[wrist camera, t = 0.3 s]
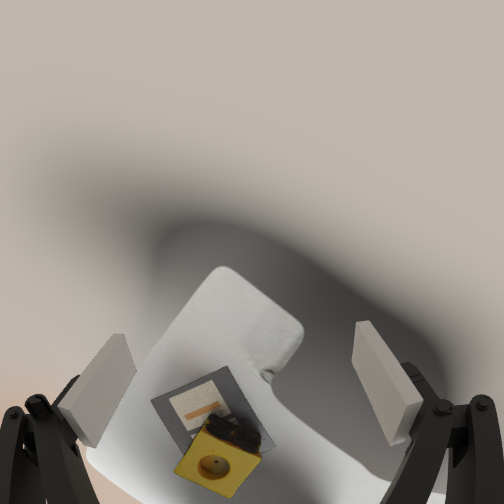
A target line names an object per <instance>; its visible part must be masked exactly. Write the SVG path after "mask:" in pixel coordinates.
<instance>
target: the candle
mask: <svg viewBox="0 0 504 504" xmlns="http://www.w3.org/2000/svg"><path fill="white" fill-rule="evenodd" d="M260 445H261V436H260V435H256V434H255V433H254V432H251V431H249V430H248V429H245V428H243V427H241V426H239V425H236V424H234V423H232V422H230V421H227V420H225V419H223V418H220V417H218V416H217V415H216V414H213V413H211V414H209V416H208V417H207V419H206V421H205V422H204V423H203V425H202V427H201V428H200V430H199V431H198V433H197V435H196V436H195V437H194V439H193V441H192V443H191V444H190V446H189V447H188V449H187V450H186V452H185V454H184V456H183V458H182V459H181V461H180V462H179V464H178V465H177V467H176V468H175V470H174V473H176V474H177V475H179V476H181V477H183V478H186V479H188V480H190V481H192V482H194V483H196V484H199V485H201V486H203V487H205V488H207V489H209V490H211V491H214V492H216V493H218V494H220V495H222V496H224V497H227V498H231V497H233V495H234V494H235V492H236V490H237V488H238V487H239V486H240V485H241V484H242V483H243V481H244V480H245V479H247V476H248V475H249V474H250V473H251V472H252V471H253V469H254V468H255V467H256V466H257V464H258V463H259V462H260V461H261V455H260V451H259V449H260V447H261V446H260Z"/></svg>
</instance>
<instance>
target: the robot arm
mask: <svg viewBox="0 0 504 504" xmlns="http://www.w3.org/2000/svg"><path fill="white" fill-rule="evenodd" d="M352 364H353V366H354V368H355V370H356V372H357V374H358V376H359V378H360V381H361V383H362V385H363V387H364V389H365V391H366V394H367V396H368V398H369V400H370V402H371V405H372V406H373V409H374V411H375V414H376V416H377V418H378V420H379V422H380V425H381V427H382V429H383V432H384V434H385V436H386V439H387V441H388V444H389V446H392V445H396V444H398V443H402V442H405V440H406V438H407V436H408V434H409V435H410V437H411V439H412V441H411V443H410V445H409V447H408V448H407V450H406V454H405V457H404V459H403V461H402V463H401V465H400V467H399V469H398V471H397V473H396V475H395V477H394V479H393V481H392V483H391V485H390V487H389V488H388V490H387V492H386V494H385V496H384V497H383V499H382V501H381V502H380V504H426V503H427V501H428V498H429V496H430V494H431V491H432V489H433V486H434V484H435V481H436V478H437V476H438V473H439V470H440V467H441V464H442V461H443V458H444V455H445V451H446V448H449V463H448V480H447V481H448V482H447V491H446V500H445V504H504V459H503V449H502V441H501V434H500V428H499V423H498V418H497V412H496V408H495V404H494V401H493V400H492V399H491V398H490V397H489V396H486V395H482V394H480V395H476V396H475V397H473V398H472V400H471V401H470V404H467V405H457V406H454V405H453V404H452V403H451V402H450V401H448V400H445V399H439V397H438V396H437V395H436V393H435V392H434V390H433V389H432V388H431V386H430V385H429V383H428V382H427V381H426V380H425V378H424V376H423V375H421V372H420V371H419V370H418V368H417V367H416V366H414V365H413V364H411V363H410V362H406V363H402V364H399V362H398V361H397V359H396V358H395V357H394V355H393V354H392V352H391V351H390V350H389V348H388V346H387V345H386V344H385V342H384V341H383V339H382V338H381V337H380V335H379V334H378V332H377V331H376V330H375V328H374V327H373V325H372V324H371V323H370V322H369V320H368V321H362V322H356V330H355V339H354V348H353V355H352ZM136 371H137V370H136V368H135V365H134V362H133V360H132V356H131V353H130V351H129V348H128V345H127V341H126V338H125V335H124V334H113V335H112V336H111V338H110V339H109V340H108V341H107V343H106V344H105V345H104V346H103V347H102V349H101V350H100V351H99V352H98V354H97V355H96V356H95V357H94V359H93V360H92V361H91V362H90V364H89V365H88V366H87V368H86V369H85V370H84V371H83V373H82V374H81V375H77V376H76V377H74V378H73V379H71V380H70V382H69V383H68V384H67V385H66V387H65V388H64V390H63V392H61V393H60V395H59V396H58V397H57V398H56V400H55V401H54V403H53V404H52V405H50V404H49V402H48V400H47V399H46V397H45V396H44V395H42V394H35V395H33V396H31V397H29V398H28V399H27V400H26V402H25V407H26V408H27V410H28V412H29V413H30V414H25V413H24V411H23V410H22V408H21V407H18V406H13V407H11V408H9V409H8V410H7V411H6V412H5V415H4V418H3V421H2V424H1V428H0V504H46V499H47V503H48V504H100V503H99V501H98V499H97V497H96V494H95V492H94V490H93V487H92V484H91V482H90V479H89V477H88V474H87V471H86V469H85V466H84V463H83V460H82V457H81V454H80V451H79V447H78V445H77V444H76V440H77V438H79V440H80V441H81V442H82V444H83V445H86V446H89V447H92V448H96V446H97V444H98V442H99V441H100V439H101V437H102V435H103V433H104V431H105V429H106V427H107V425H108V423H109V421H110V419H111V417H112V415H113V414H114V412H115V410H116V408H117V406H118V404H119V402H120V401H121V399H122V397H123V395H124V393H125V391H126V389H127V388H128V386H129V384H130V382H131V380H132V379H133V377H134V375H135V373H136ZM23 444H24V445H25V447H24V449H23Z"/></svg>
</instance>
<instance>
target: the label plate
mask: <svg viewBox="0 0 504 504" xmlns="http://www.w3.org/2000/svg"><path fill="white" fill-rule="evenodd" d="M150 401H151V402H152V404H153V406H154V408H155V409H156V411H157V413H158V415H159V416H160V418H161V420H162V421H163V423H164V425H165V426H166V428H167V430H168V431H169V433H170V434H171V436H172V438H173V439H174V441H175V442H176V444H177V445H178V447H179V448H180V450H181V451H182V453H183V454H185V452H186V450H187V449H188V447H189V446H190V444H191V443H192V441H193V439H194V437H195V436H196V435H197V433H198V431H199V430H200V428H201V427H202V425H203V423H204V422H205V421H206V419H207V417H208V416H209V414H211V413H213V414H216V415H217V416H218V417H220V418H223V419H225V420H227V421H230V422H232V423H234V424H236V425H239V426H241V427H243V428H245V429H248V430H249V431H251V432H254V433H255V434H256V435H260V436H261V445H260V446H261V447H260V449H259V451H260V454H262V453H264V452H267V451H269V450H271V449H273V448H275V447H276V446H275V444H274V443H273V441H272V439H271V438H270V436H269V435H268V433H267V432H266V430H265V429H264V427H263V426H262V424H261V422H260V421H259V419H258V418H257V416H256V414H255V413H254V411H253V409H252V408H251V406H250V405H249V403H248V401H247V400H246V398H245V396H244V395H243V393H242V391H241V390H240V388H239V386H238V384H237V383H236V381H235V379H234V377H233V376H232V374H231V372H230V370H229V369H228V367H227V366H226V367H224V368H222V369H220V370H218V371H216V372H214V373H212V374H210V375H207V376H205V377H203V378H201V379H199V380H197V381H194V382H192V383H190V384H188V385H186V386H183V387H181V388H179V389H176V390H174V391H172V392H169V393H167V394H165V395H162V396H160V397H158V398H155V399H153V400H150Z"/></svg>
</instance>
